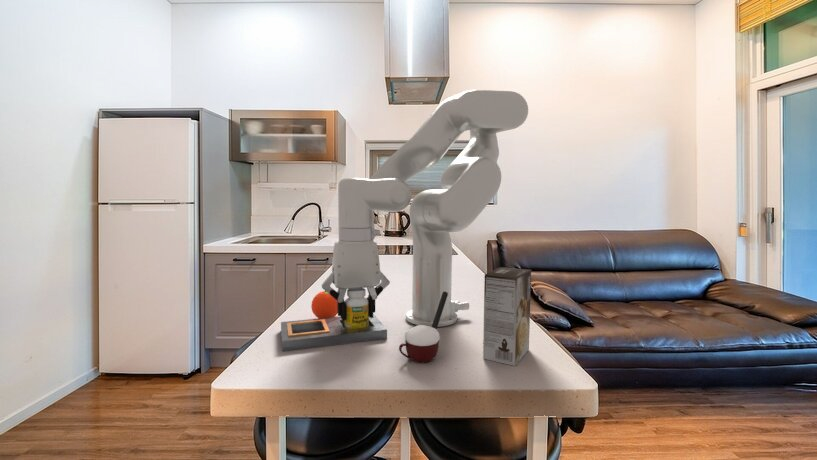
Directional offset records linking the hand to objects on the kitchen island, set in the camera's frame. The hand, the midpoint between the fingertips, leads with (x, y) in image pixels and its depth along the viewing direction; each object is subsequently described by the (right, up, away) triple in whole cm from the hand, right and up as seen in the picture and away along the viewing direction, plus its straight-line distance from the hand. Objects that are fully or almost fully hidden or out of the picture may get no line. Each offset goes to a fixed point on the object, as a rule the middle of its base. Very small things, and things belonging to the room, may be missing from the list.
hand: (356, 316), depth 84 cm
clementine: (-8, -3, +9) cm, 13 cm away
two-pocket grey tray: (-5, -4, -2) cm, 6 cm away
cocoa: (+14, -5, -13) cm, 20 cm away
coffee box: (+30, -5, -11) cm, 33 cm away
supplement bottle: (0, -4, 0) cm, 4 cm away
